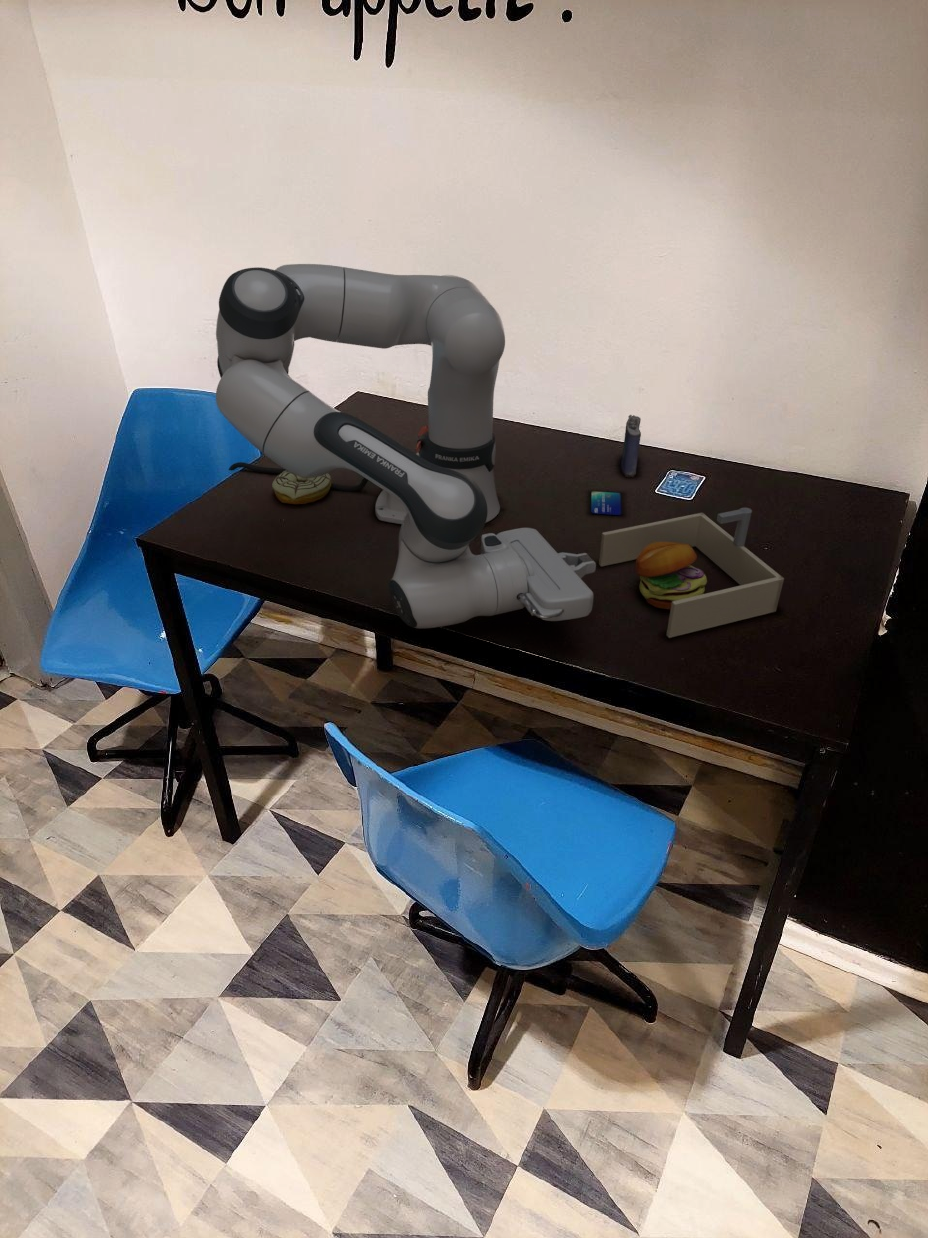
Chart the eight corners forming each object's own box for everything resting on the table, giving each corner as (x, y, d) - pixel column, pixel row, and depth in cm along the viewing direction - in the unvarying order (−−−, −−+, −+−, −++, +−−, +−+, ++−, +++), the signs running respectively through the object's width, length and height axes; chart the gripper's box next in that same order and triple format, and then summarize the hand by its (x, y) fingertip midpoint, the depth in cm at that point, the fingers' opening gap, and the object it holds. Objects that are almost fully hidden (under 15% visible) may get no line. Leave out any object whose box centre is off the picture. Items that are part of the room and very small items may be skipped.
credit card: (621, 515, 158) (621, 514, 158) (591, 513, 159) (591, 513, 159) (620, 493, 165) (620, 492, 165) (591, 491, 166) (591, 491, 166)
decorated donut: (262, 493, 165) (260, 475, 163) (309, 475, 171) (307, 457, 169) (295, 513, 159) (293, 494, 157) (342, 493, 165) (341, 475, 163)
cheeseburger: (682, 625, 131) (677, 563, 127) (624, 610, 139) (617, 552, 134) (720, 597, 137) (716, 537, 133) (662, 584, 144) (657, 528, 140)
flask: (636, 478, 171) (642, 425, 164) (620, 477, 171) (626, 424, 165) (635, 457, 178) (641, 406, 172) (620, 456, 178) (626, 406, 172)
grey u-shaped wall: (668, 638, 129) (680, 568, 122) (598, 564, 145) (605, 499, 138) (778, 610, 134) (796, 542, 127) (699, 542, 151) (710, 479, 144)
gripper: (536, 601, 116) (629, 580, 120) (478, 528, 132) (562, 512, 136) (534, 639, 120) (624, 618, 124) (478, 564, 135) (559, 547, 139)
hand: (591, 562), depth 130 cm, fingers closed
